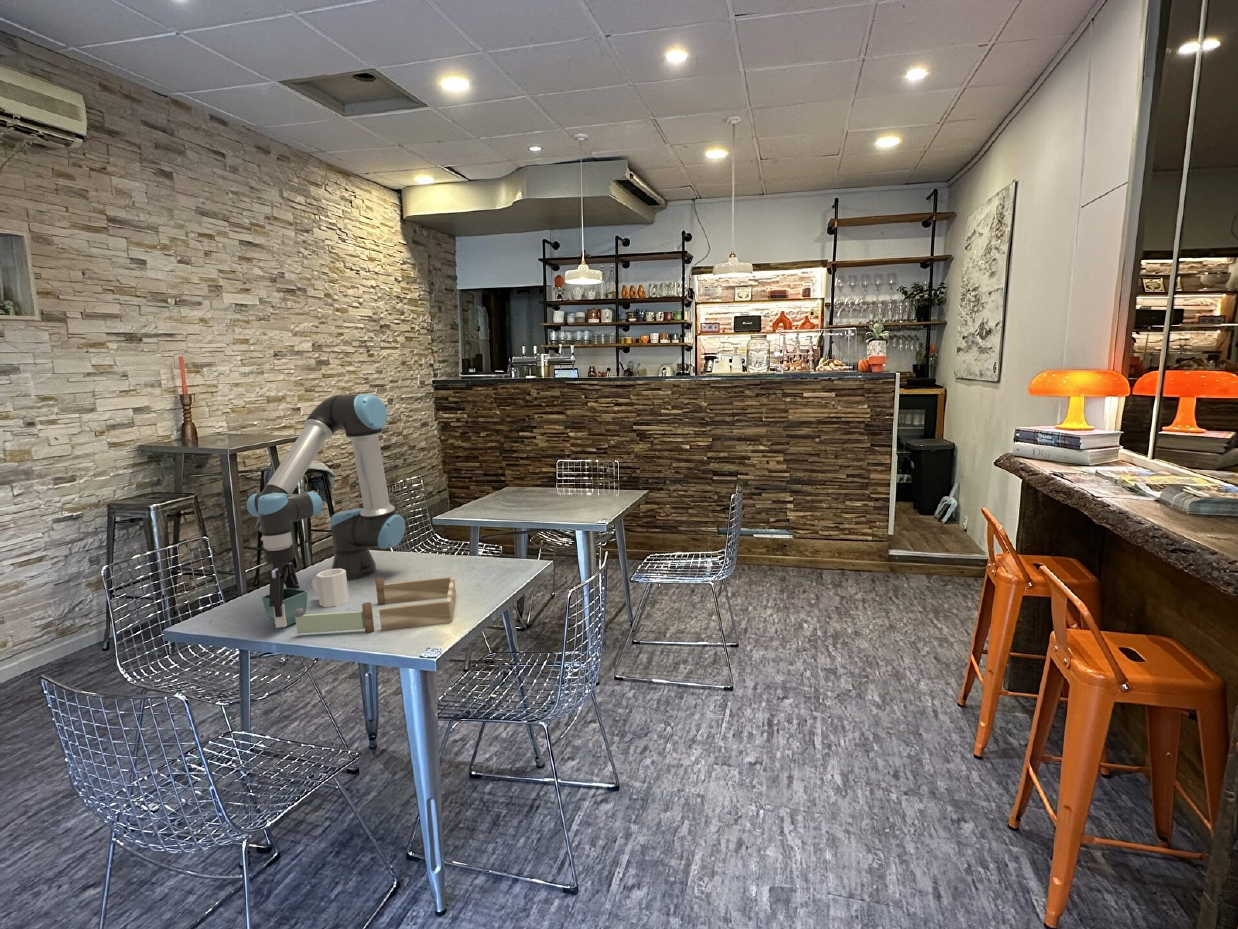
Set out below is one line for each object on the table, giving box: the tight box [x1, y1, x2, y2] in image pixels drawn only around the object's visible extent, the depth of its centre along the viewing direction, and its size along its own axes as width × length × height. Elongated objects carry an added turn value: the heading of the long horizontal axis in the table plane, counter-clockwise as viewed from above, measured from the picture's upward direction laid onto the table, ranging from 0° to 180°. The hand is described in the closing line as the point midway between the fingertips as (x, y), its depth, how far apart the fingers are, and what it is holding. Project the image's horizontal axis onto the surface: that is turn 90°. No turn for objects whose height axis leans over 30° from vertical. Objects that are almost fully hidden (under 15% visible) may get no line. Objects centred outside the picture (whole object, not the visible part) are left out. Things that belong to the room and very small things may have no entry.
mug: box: [310, 568, 350, 608], centre depth 205 cm, size 12×9×10 cm
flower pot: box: [261, 587, 308, 627], centre depth 189 cm, size 9×9×9 cm
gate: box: [295, 608, 365, 634], centre depth 180 cm, size 18×2×7 cm, turn 93°
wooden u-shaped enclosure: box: [361, 576, 457, 634], centre depth 193 cm, size 24×24×8 cm
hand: (287, 618), depth 190 cm, fingers closed on flower pot, 12 cm apart
